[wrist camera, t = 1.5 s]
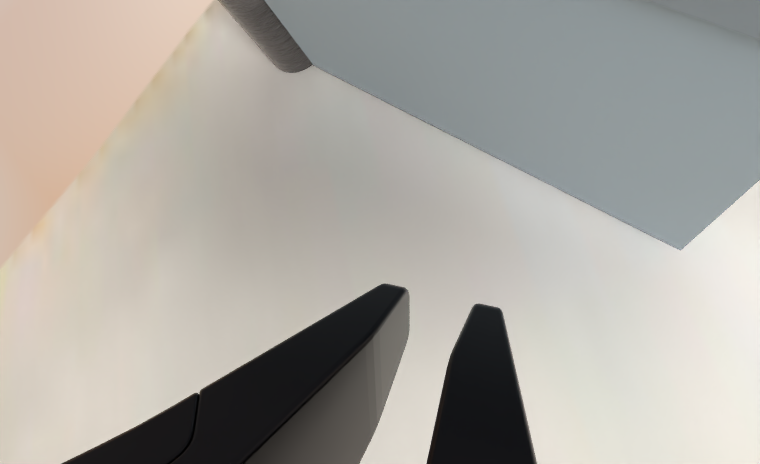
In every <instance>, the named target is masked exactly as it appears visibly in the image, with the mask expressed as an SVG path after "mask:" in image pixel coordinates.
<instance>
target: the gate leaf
mask: <svg viewBox="0 0 760 464" xmlns="http://www.w3.org/2000/svg"><path fill="white" fill-rule="evenodd" d="M265 2H266V3H267V4H268V6H269V7H270V8H271V10H272V11H273V12H274V14H275V15H276V16H277V18H278V19H279V20H280V22H281V23H282V24H283V26H284V27H285V28H286V29H287V31H288V32H289V33H290V35H291V36H292V37H293V39H294V40H295V41H296V43H297V44H298V45H299V47H300V48H301V49H302V51H303V52H304V53H305V55H306V56H307V57H308V59H309V60H310V61H311V63H312V64H313V65H314V66H316V67H318V68H320V69H322V70H324V71H326V72H328V73H330V74H332V75H334V76H336V77H338V78H340V79H342V80H343V81H345V82H347V83H349V84H351V85H353V86H355V87H357V88H359V89H361V90H363V91H365V92H367V93H369V94H371V95H373V96H375V97H377V98H379V99H381V100H383V101H385V102H387V103H389V104H391V105H393V106H395V107H397V108H399V109H401V110H403V111H405V112H407V113H409V114H411V115H413V116H415V117H417V118H419V119H421V120H423V121H425V122H427V123H429V124H431V125H433V126H435V127H437V128H439V129H441V130H443V131H445V132H447V133H449V134H451V135H453V136H455V137H456V138H458V139H460V140H462V141H464V142H466V143H468V144H470V145H472V146H474V147H476V148H478V149H480V150H482V151H484V152H486V153H488V154H490V155H492V156H494V157H496V158H498V159H500V160H502V161H504V162H506V163H508V164H510V165H512V166H514V167H516V168H518V169H520V170H522V171H524V172H526V173H528V174H530V175H532V176H534V177H536V178H538V179H540V180H542V181H544V182H546V183H548V184H550V185H552V186H554V187H556V188H558V189H560V190H562V191H564V192H566V193H568V194H569V195H571V196H573V197H575V198H577V199H579V200H581V201H583V202H585V203H587V204H589V205H591V206H593V207H595V208H597V209H599V210H601V211H603V212H605V213H607V214H609V215H611V216H613V217H615V218H617V219H619V220H621V221H623V222H625V223H627V224H629V225H631V226H633V227H635V228H637V229H639V230H641V231H643V232H645V233H647V234H649V235H651V236H653V237H655V238H657V239H659V240H661V241H663V242H665V243H667V244H669V245H671V246H673V247H675V248H677V249H679V250H681V249H683V248H684V247H685V246H686V245H687V244H688V243H689V242H690V241H692V240H693V239H694V238H695V237H696V236H697V235H698V234H699V233H701V232H702V231H703V230H704V229H705V228H706V227H707V226H708V225H710V224H711V223H712V222H713V221H714V220H715V219H716V218H717V217H718V216H720V215H721V214H722V213H723V212H724V211H725V210H726V209H727V208H729V207H730V206H731V205H732V204H733V203H734V202H735V201H736V200H738V199H739V198H740V197H741V196H742V195H743V194H744V193H745V192H746V191H748V190H749V189H750V188H751V187H752V186H753V185H754V184H755V183H757V182H758V181H759V180H760V0H265Z"/></svg>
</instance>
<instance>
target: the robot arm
mask: <svg viewBox="0 0 760 464" xmlns="http://www.w3.org/2000/svg"><path fill="white" fill-rule="evenodd" d="M408 335H409V292H408V290H407V289H406V288H404V287H400V286H395V285H391V284H381V285H379V286H377V287H376V288H374V289H372V290H370V291H369V292H367V293H365V294H364V295H362V296H360V297H358V298H357V299H355V300H353V301H352V302H350V303H348V304H347V305H345V306H343V307H341V308H340V309H338V310H336V311H335V312H333V313H331V314H329V315H328V316H326V317H324V318H323V319H321V320H319V321H317V322H316V323H314V324H312V325H311V326H309V327H307V328H306V329H304V330H302V331H300V332H299V333H297V334H295V335H294V336H292V337H290V338H288V339H287V340H285V341H283V342H282V343H280V344H278V345H276V346H275V347H273V348H271V349H270V350H268V351H266V352H265V353H263V354H261V355H259V356H258V357H256V358H254V359H253V360H251V361H249V362H247V363H246V364H244V365H242V366H241V367H239V368H237V369H236V370H234V371H232V372H230V373H229V374H227V375H225V376H224V377H222V378H220V379H218V380H217V381H215V382H213V383H212V384H210V385H208V386H206V387H205V388H203V389H201V391H200V394H198V393H194V394H192V395H191V396H189V397H187V398H186V399H184V400H182V401H180V402H179V403H177V404H175V405H174V406H172V407H170V408H168V409H167V410H165V411H163V412H161V413H159V414H158V415H156V416H154V417H152V418H150V419H149V420H147V421H145V422H143V423H141V424H140V425H138V426H136V427H134V428H132V429H130V430H128V431H126V432H124V433H122V434H120V435H118V436H116V437H114V438H112V439H110V440H108V441H107V442H105V443H103V444H101V445H99V446H97V447H95V448H93V449H91V450H89V451H87V452H84V453H82V454H80V455H78V456H76V457H74V458H72V459H70V460H68V461H66V462H64V463H62V464H359V463H360V461H361V459H362V457H363V455H364V453H365V451H366V449H367V447H368V445H369V443H370V441H371V439H372V436H373V434H374V432H375V430H376V428H377V425H378V423H379V420H380V417H381V415H382V412H383V409H384V406H385V403H386V400H387V398H388V395H389V392H390V389H391V386H392V383H393V380H394V378H395V375H396V372H397V369H398V366H399V363H400V360H401V358H402V355H403V352H404V349H405V346H406V343H407V340H408ZM427 464H537V462H536V457H535V453H534V448H533V444H532V440H531V435H530V431H529V426H528V422H527V418H526V413H525V409H524V404H523V400H522V396H521V391H520V387H519V382H518V378H517V374H516V369H515V365H514V360H513V356H512V352H511V347H510V343H509V338H508V334H507V330H506V325H505V321H504V316H503V312H502V310H501V309H500V308H497V307H493V306H488V305H483V304H475V305H474V306H473V307H472V309H471V311H470V314H469V316H468V318H467V320H466V322H465V324H464V327H463V329H462V331H461V333H460V335H459V337H458V339H457V342H456V344H455V346H454V348H453V351H452V353H451V355H450V359H449V362H448V366H447V370H446V375H445V380H444V384H443V389H442V394H441V398H440V403H439V408H438V412H437V417H436V422H435V426H434V431H433V436H432V441H431V445H430V450H429V455H428V459H427Z"/></svg>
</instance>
